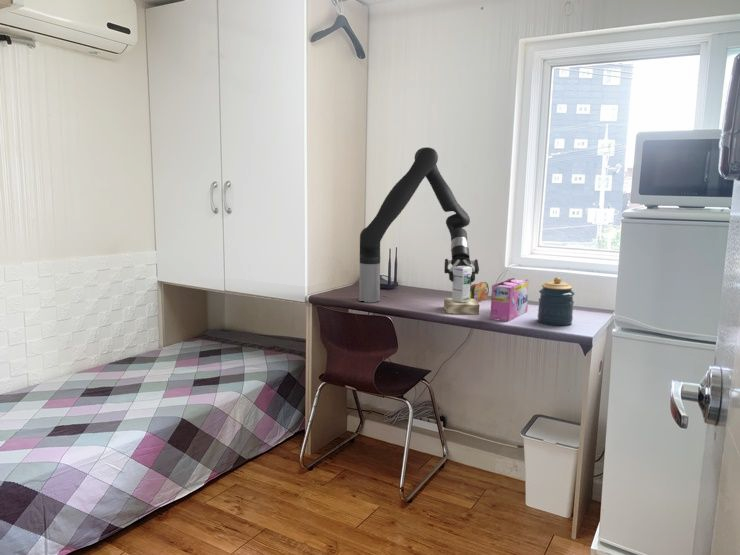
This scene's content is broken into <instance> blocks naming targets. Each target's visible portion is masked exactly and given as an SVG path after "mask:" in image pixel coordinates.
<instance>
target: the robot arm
mask: <svg viewBox="0 0 740 555" xmlns="http://www.w3.org/2000/svg"><path fill="white" fill-rule="evenodd" d="M438 161H439V155H438V152H437V151H436V150H435V148H433V147H421V148H419V149H418V150H416V152H415V153H414V161H413V163H412V165H411V167H410V168H409V170H408V171H407V172H406V173H405V174H404V175H403V176H402V177H401V178H400V179H399V180H398V181H397V182H396V183H395V184H394V186H393V187H392V188H391V190H390V191H389V193H388V194H387V195H386V197H385V199H384V200H383V202H382V204H381V206H380V207H379V209H378V210H377V211H378V212H377V214H376V216H374V218H373V220H371V222H370V223H369V224H368V225H367V226H366V227H365V228H362V230H361V232H360V234H359V280H358V302H359V301H364V302H363V303H377V301H378V302H380V301H379V300H380V296H381V295H380V294H381V292H380V291H381V241H382V240H383V238H384V235H385V234H386V232H387V230H388V229H389V227H390V226H391V224H392V223H394V221H395V220H396V219H398V217H399V215H400V214H401V212H403V210H404V209H405V208H406V206H407V205H408V204H409V202H410V200H411V199H412V197H413V196H414V195H415V193H416V191H417V190H418V188H419V186H420V184H421V183H422V182H423V180H424V179H425V178H426V180H427V181H428V183H429V184H430V186H431V188H432V190H433V192H434V195H435V197H436V199H437V201H438V203H439V204H440V207H441V209H442V210H443V212H444V213H448V212H454V214H451V215H449V216H448V217H446V218H445V219H446V220H445V225H446V228H447V229H448V231H449V233H450V243H451V245H450V252H451V259H450V260H449V259H448V258H445V259H444V269H443V270H444V274H448V280H449V281H450V283H451V282H453V267H457V266H469V267H472V266H473V267H474V268H473V267H472V281H471V283H474V282H475V281H476V275H479V272H480V267H479V260H478V259H474V260H471V258H470V247H469V242H468V233H467V231H466V229H465V228H466V227H467V226H469V225H470V224H471V223H470V222H471V220H470V218H471V217H470V216H469V214H468V213H467V211H465V209H464V208H463V207H462V206H461V205H460V204H459V203H458V201H457V199H456V197H455V196H454V194H453V191H452V189H451V188H450V186H449V184H447V182H446V180H445V179H444V178H443V176H442V174H441V172H440V171H439V168H438V165H437V163H438ZM450 264H451V267H450V268H449V266H450Z"/></svg>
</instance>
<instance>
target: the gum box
mask: <svg viewBox="0 0 740 555" xmlns="http://www.w3.org/2000/svg"><path fill="white" fill-rule="evenodd" d="M490 298H491V300H490V317H489V318H492V319H491V320H495V319H499V320H498V321H501V320H506V321H505V322H510V321H512V320H514V319H516V318H517V316H518V317H520V316H521V315H523V314H525V313H527V312H528V307H529V306H528V304H529V279H525V280H520V279H516V278H513V277H512V278H508V279H506V280H503V281H501V282H498V283H495V284H493V285H491V297H490ZM519 315H520V316H519ZM515 317H516V318H515ZM513 318H514V319H513ZM511 319H512V320H511ZM509 320H510V321H509Z"/></svg>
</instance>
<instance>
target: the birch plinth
mask: <svg viewBox="0 0 740 555" xmlns="http://www.w3.org/2000/svg"><path fill="white" fill-rule="evenodd" d="M443 309H444V311H445V310H446V311H445V313H446V312H447V313H453V314H452V315H478V314H479V315H480V304H479V302H477V301H476V300H475V299H471V301H467V302H463V303H461V302H456V301H453V300H452V297H444V298H443ZM447 313H446V314H447Z"/></svg>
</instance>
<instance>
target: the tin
mask: <svg viewBox="0 0 740 555" xmlns="http://www.w3.org/2000/svg"><path fill="white" fill-rule="evenodd" d="M489 288H490V287H489V284H488V283H487V282H486V281H480V282H477V283H473V284H471V299H475V300H476V301H477V302H478V303H480V302H484V301H486V300H487V298H488V297H489V292H490V291H489Z"/></svg>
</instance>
